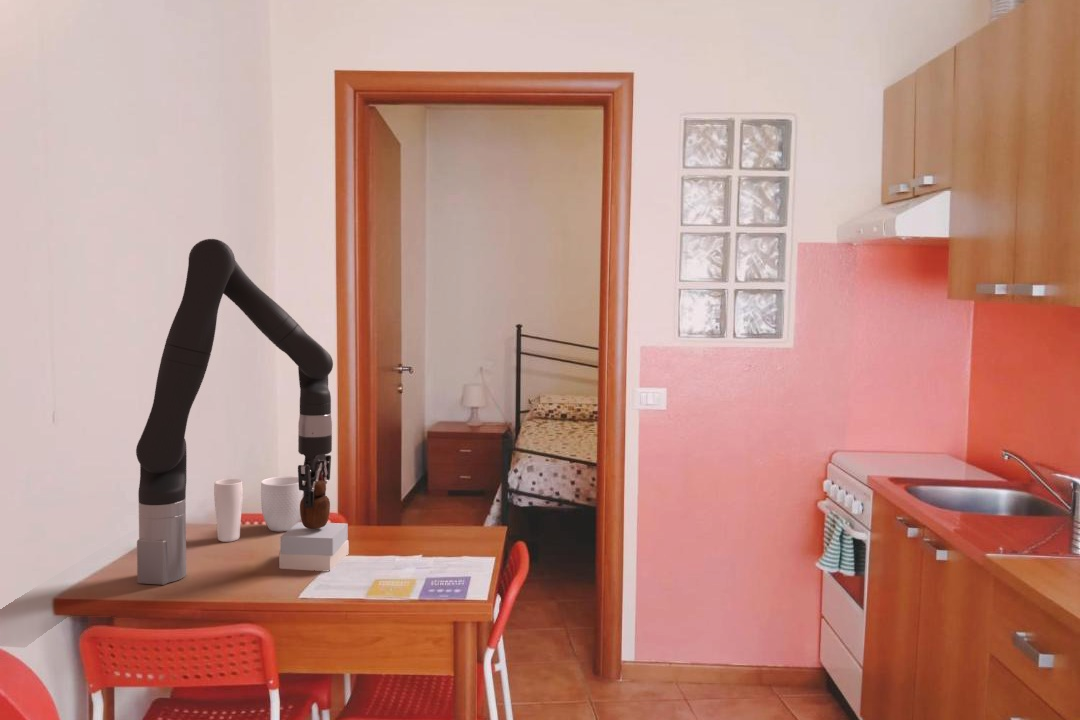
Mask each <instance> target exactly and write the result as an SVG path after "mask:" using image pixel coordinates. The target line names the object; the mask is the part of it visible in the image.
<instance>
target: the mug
mask: <svg viewBox="0 0 1080 720" xmlns="http://www.w3.org/2000/svg"><path fill="white" fill-rule="evenodd" d="M303 482H304V481H303ZM303 497H304V491H302V490H299V481H298V476H284V475H283V476H275V477H274V476H273V477H269V478H265V479H262V480H261V482H260V504H261V506H260V507H261V513H262V515H263V520H264V522H265V524H266V526H267V527H268V529H269V530H270V531H272V532H278V533H280V532H287V531H288V530H289V529H291V528H292V527H293V526H294V525H296V524H297V523H298V522H302V520H301V515H300V502H301V500H302V498H303Z"/></svg>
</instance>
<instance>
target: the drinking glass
mask: <svg viewBox="0 0 1080 720" xmlns="http://www.w3.org/2000/svg"><path fill="white" fill-rule="evenodd" d="M213 484H214V485H213V492H214V493H213V498H214V501H213V502H214V509H215V520H216V528H217V529H216V530H217V540H218V541H220V542H222V543H229V542H235V541H238V540H239V539H240V537H241V521H242V509H243V500H244V499H243V497H244V493H243V492H244V490H243V488H244V487H243V486H244V483H243V480H242V479H238V478H224V479H219V480H216V481H215V482H214V483H213Z"/></svg>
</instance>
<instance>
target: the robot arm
mask: <svg viewBox="0 0 1080 720" xmlns="http://www.w3.org/2000/svg"><path fill="white" fill-rule="evenodd" d="M187 265H188V266H187V273H186V279H185V286H184V291H183V295H182V299H181V301H180V304H179V306H178V308H177V311H176V313H175V316H174V318H173V321H172V323H171V326H170V329H169V331H168V334H167V337H166V339H165V343H164V348H163V351H162V355H161V359H160V363H159V367H158V373H157V378H156V383H155V389H154V390H155V391H154V395H153V396H154V397H153V401H152V402H153V403H152V406H151V409H150V412H149V416H148V418H147V420H146V424H145V426H144V428H143V431H142V434H141V435H140V438H139V440H138V442H137V445H136V450H135V455H136V458H137V461H138V463H139V468H140V470H139V471H140V472H139V473H140V474H139V486H138V493H137V494H138V539H137V541H136V560H137V561H136V565H137V566H136V567H137V568H136V570H137V571H136V574H137V576H136V577H137V579H136V580H137V584H145V585H158V586H159V585H162V586H163V585H167V584H170V583H173V582H176V581H178V580H182V579H183V578H185V577H186V576H187V527H186V526H187V521H186V519H187V517H186V516H187V514H186V511H187V510H186V509H187V507H186V505H187V503H186V502H187V501H186V499H187V498H186V497H187V496H186V495H187V490H186V489H187V460H188V459H187V457H188V455H187V441H186V438H185V437H186V436H185V435H186V431H187V430H186V429H187V423H188V419H189V415H190V412H191V409H192V406H193V404H194V402H195V399H196V397H197V395H198V393H199V390H200V387H201V386H202V384H203V380H204V379H205V375H206V372H207V368H208V366H209V361H210V358H211V356H212V355H211V354H212V350H213V347H214V340H215V334H216V329H217V320H218V313H219V307H220V305H221V301H222V298H223V294H224V295H225V297H227V298H228V299H229V300H230V301H232V302H233V304H234V305H235V306H237V307H238V308H239V310H240V311H241V312H242V313H243V314H244V315H245V316H246V317H247V318H248V319H249V320H250V322H252V324H253V325H255V327H256V328H257V329H258V330H259V331H260V332H261V333H262V334H263V335H264V336H265V337H266V338H267V339H268V340H269V341H270V342H271V343H272V344H273V345H275V347H277V348H278V349H279V350H280V351H282V352H284V353H285V354H286V355H287V356H288V357H289V359H290V360H292V362H294V364H296V366H298V367H297V368H298V381H299V382H298V383H299V389H300V390H299V415H298V416H299V418H298V426H297V427H298V436H297V437H298V440H297V441H298V445H297V446H298V450H297V451H298V454H300V455H303V456H304V461H303V464H299V465H297V477H298V481H299V490H302V491H304V507H306V508H312V507H314V488H315V483H316V482H318V478H319V475H320V474H321V473H322V476H323V481H324V482H325V484H326V485H327V484H328V481H330V480H331V465H332V464H331V463H332V455H329V454H330V453H332V452H333V447H332V445H333V421H332V396H331V392H330V389H329V375H330V374H331V372H332V370H333V366H334V360H333V357H332V356H331V354H330V353H329V352H328V351H327V350H326V349H325V348H324V347H323V346H322V345H321V344H320V343H318V342H317V341H316V340H315V339H314V338H312V337H311V336H310V335H309V334H308V333H307V332H306V331H305V329H303V328H302V326H301V325H300V324H299V323H298V322H297V321H296V320H295V319H294V318H293V317H292V316H291V315H290V313H288V312H287V311H286V310H285V309H284V308H283V307H281V305H280V304H278V303H277V302H276V301H274V300H273V299H272V298H271V297H270V296H268V295H267V293H265V292H264V291H263V290H262V289H261V288H260V287H259V286H257V285H256V284H255V283H254V282H253V280H252V279H251V278H250V277H249V276H248V275H247V274H246V273H245V271H244V270H243V269H242V267H241V266H240V265H239V263H238V262H237V261H236V258H235V254H234V252H233V250H232V248H231V247H230V246H229V245H228V244H227V243H225V242H224V241H222V240H220V239H216V238H206V239H202V240H200V241H199V242H196V244H195V245H193V246H192V248H191V249H190V252H189V255H188V264H187ZM311 477H313V478H311ZM303 481H304V482H303ZM311 482H312V483H311ZM324 495H325V496H327V495H326V492H325V494H324Z"/></svg>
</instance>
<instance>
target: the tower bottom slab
mask: <svg viewBox="0 0 1080 720" xmlns="http://www.w3.org/2000/svg"><path fill="white" fill-rule="evenodd" d="M349 541H350V540H348V539H347V541H346V542H345V543H344V544H343V545H342V546H341V547H340V548H339V549H338V550H337V551H336V552H335V554H334V555H333V556H331V555H301V554H280V552H279V554H278V555H279V560H278V561H279V565H278V566H279V569H281V570H300V571H314V570H315V572H317V571H318V572H323V571H322V570H331V569H332V568H333V567H334V566H335V565H336V564H337V563H338V562H339V561H340V560H341V559H342V558H343V557H345V556H346V555H348V554H349V551H350V550H349V545H350V544H349V543H350V542H349ZM348 556H349V555H348ZM345 558H346V557H345ZM334 568H335V567H334ZM334 568H333V569H334ZM333 569H332V570H333ZM332 570H331V571H332Z"/></svg>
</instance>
